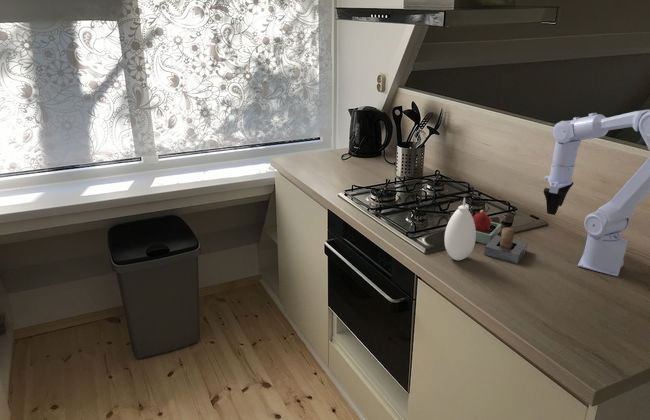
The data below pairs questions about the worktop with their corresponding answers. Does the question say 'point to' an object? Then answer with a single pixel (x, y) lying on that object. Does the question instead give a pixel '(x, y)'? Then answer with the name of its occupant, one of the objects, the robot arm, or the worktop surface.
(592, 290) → the worktop surface
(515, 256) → the gray square socket block
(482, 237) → the case
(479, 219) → the onion
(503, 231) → the tan upright cylinder
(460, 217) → the sauce bottle
